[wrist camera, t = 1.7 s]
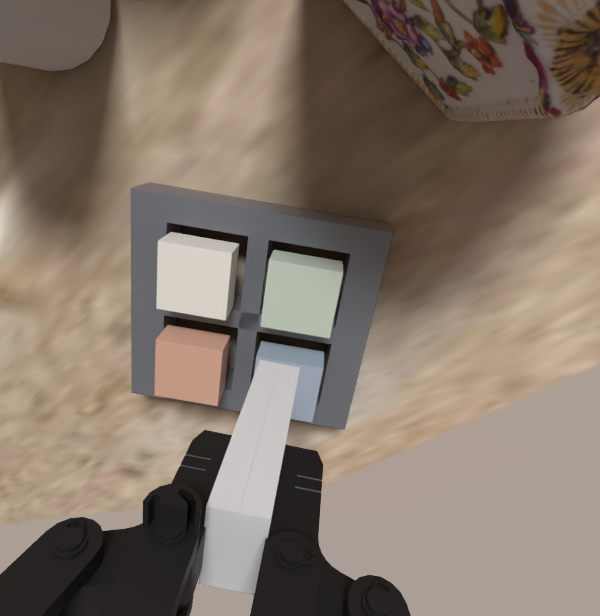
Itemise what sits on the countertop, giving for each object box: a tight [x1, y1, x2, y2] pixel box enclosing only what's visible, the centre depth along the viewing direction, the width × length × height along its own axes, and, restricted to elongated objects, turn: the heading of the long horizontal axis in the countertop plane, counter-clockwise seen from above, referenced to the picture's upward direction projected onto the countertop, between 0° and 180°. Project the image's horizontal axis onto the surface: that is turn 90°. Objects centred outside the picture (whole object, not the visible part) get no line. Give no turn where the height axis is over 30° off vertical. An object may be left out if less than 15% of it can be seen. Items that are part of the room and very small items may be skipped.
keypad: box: [131, 183, 393, 430], centre depth 28 cm, size 15×14×3 cm
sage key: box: [260, 250, 343, 338], centre depth 25 cm, size 4×4×3 cm
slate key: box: [254, 341, 324, 423], centre depth 27 cm, size 4×4×3 cm
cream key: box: [156, 232, 239, 321], centre depth 25 cm, size 4×4×3 cm
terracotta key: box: [154, 325, 230, 406], centre depth 27 cm, size 4×4×3 cm
